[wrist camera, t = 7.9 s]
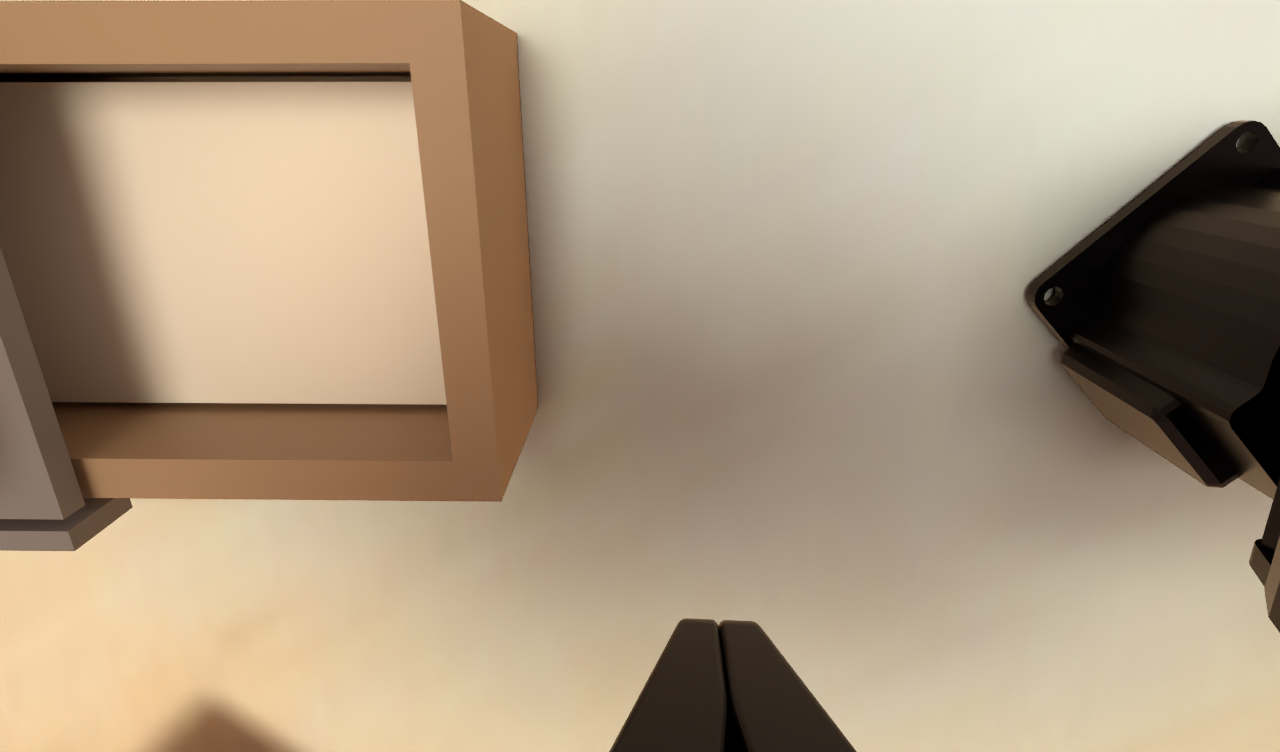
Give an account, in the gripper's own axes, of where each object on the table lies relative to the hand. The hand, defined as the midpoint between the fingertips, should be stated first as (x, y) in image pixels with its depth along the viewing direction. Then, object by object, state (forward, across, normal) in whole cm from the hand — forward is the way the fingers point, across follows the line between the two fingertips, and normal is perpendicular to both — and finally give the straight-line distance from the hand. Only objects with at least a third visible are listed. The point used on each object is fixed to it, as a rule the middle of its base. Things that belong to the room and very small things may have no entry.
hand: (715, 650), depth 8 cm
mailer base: (+12, +12, -2) cm, 17 cm away
